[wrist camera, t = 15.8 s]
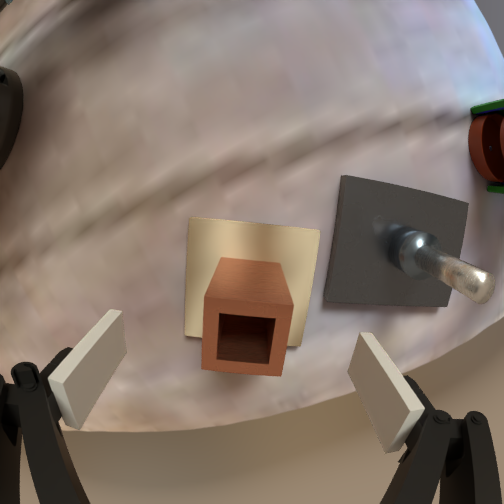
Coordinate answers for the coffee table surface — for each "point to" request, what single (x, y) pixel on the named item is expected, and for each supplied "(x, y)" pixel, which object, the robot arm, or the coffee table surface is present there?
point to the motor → (488, 143)
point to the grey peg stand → (400, 248)
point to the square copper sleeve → (246, 318)
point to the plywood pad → (250, 248)
